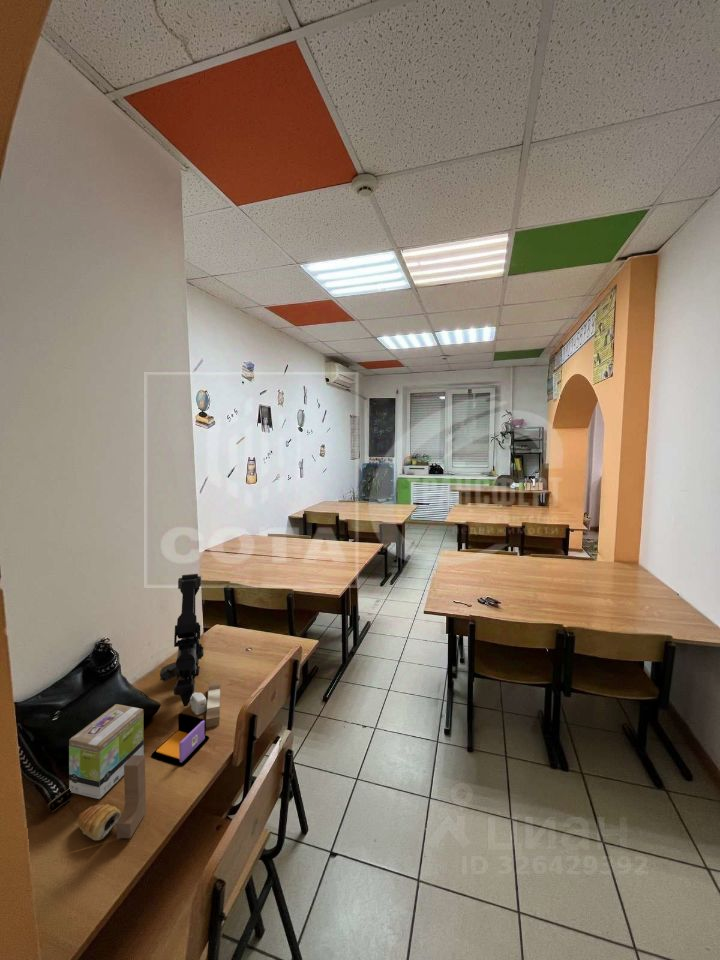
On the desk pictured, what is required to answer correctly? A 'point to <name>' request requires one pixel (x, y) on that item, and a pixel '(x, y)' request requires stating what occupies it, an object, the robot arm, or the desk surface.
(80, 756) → the tea box
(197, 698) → the power adapter
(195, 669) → the robot arm
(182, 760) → the business card holder
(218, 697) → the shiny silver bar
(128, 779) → the wooden block
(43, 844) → the desk surface
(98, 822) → the pastry
